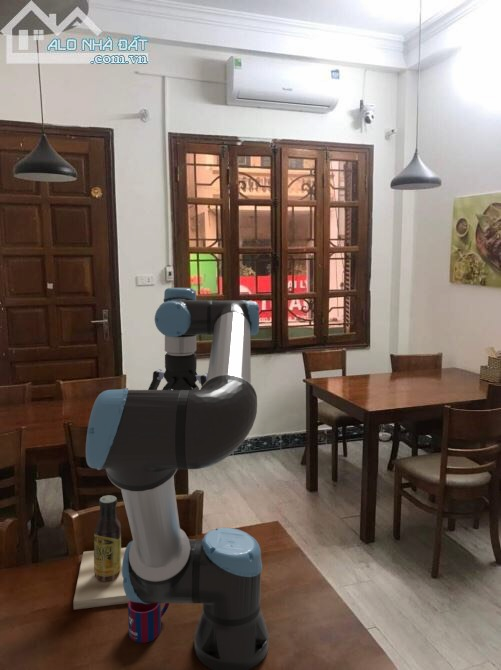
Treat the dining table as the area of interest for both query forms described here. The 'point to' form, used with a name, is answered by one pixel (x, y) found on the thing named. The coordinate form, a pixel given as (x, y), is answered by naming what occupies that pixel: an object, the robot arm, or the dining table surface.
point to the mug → (145, 620)
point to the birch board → (97, 586)
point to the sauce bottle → (107, 541)
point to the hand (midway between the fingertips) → (181, 438)
